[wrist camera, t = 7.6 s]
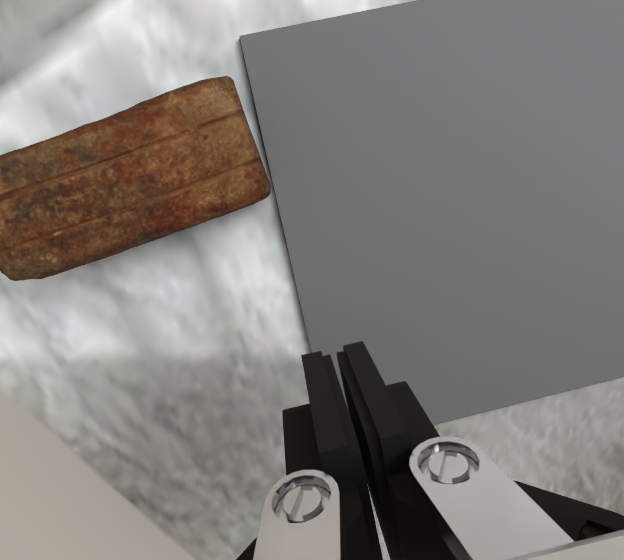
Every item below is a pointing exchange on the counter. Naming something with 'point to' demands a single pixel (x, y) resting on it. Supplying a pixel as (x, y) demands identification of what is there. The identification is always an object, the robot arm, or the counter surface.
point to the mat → (454, 191)
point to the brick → (127, 180)
